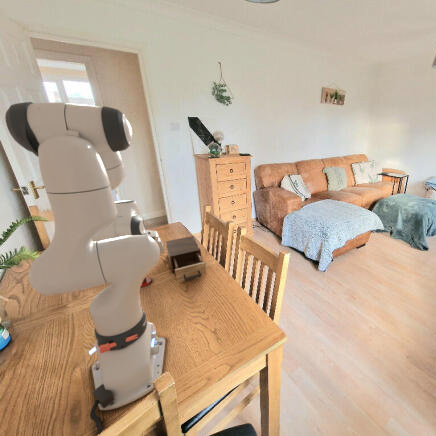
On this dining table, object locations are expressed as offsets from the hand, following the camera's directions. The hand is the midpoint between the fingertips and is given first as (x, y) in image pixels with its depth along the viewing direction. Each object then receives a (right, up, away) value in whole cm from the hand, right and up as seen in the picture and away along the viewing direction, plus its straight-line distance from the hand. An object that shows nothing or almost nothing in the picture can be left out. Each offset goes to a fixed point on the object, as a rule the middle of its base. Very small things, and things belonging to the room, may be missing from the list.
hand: (140, 267), depth 101 cm
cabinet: (+9, -1, +21) cm, 23 cm away
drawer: (+17, -5, +10) cm, 20 cm away
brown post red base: (0, -8, +3) cm, 8 cm away
